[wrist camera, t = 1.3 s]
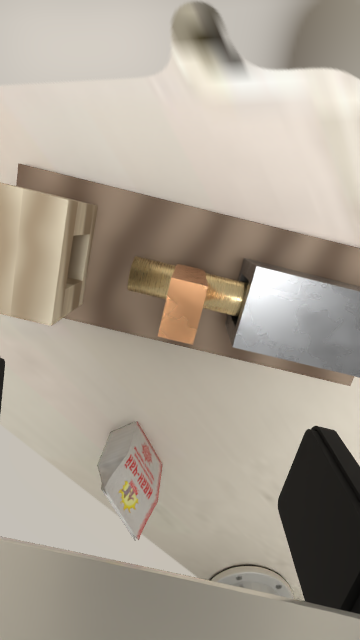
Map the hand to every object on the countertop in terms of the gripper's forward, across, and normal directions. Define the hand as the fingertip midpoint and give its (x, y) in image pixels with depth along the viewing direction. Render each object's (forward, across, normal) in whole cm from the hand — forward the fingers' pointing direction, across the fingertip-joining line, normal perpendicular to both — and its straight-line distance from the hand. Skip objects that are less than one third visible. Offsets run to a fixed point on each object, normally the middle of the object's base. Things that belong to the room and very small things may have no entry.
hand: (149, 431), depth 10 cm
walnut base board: (+27, -2, 0) cm, 27 cm away
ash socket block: (+25, +12, 0) cm, 28 cm away
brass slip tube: (+23, -7, 0) cm, 24 cm away
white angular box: (+27, 0, +22) cm, 34 cm away
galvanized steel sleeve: (+25, -13, 0) cm, 28 cm away
